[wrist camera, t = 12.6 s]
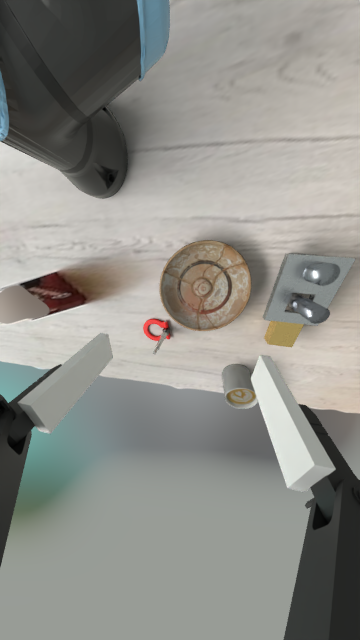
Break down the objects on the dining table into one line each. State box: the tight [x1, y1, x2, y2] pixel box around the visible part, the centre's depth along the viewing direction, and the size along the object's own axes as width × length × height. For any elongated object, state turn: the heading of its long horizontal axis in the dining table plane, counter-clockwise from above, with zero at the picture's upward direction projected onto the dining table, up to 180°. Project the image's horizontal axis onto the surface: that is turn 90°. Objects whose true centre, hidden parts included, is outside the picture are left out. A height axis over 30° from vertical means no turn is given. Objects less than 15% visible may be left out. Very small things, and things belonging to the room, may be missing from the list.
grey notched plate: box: [263, 254, 356, 347], centre depth 35 cm, size 22×12×10 cm, turn 177°
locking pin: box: [287, 293, 330, 324], centre depth 33 cm, size 3×3×13 cm
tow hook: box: [143, 319, 170, 354], centre depth 45 cm, size 8×13×9 cm
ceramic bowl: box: [160, 240, 251, 331], centre depth 39 cm, size 23×24×5 cm
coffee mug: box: [222, 364, 258, 409], centre depth 51 cm, size 13×10×10 cm
